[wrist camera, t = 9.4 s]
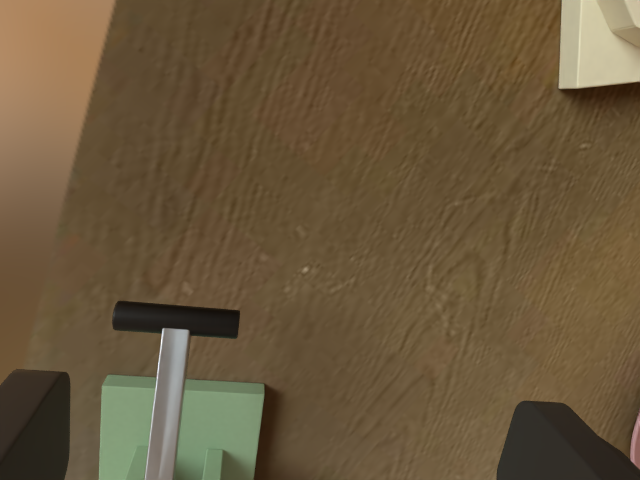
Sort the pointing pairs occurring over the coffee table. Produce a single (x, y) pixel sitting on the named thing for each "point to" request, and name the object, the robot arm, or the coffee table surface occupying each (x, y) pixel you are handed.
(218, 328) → the switch lever
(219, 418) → the switch bracket
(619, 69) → the box
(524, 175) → the coffee table surface
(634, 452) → the plate
